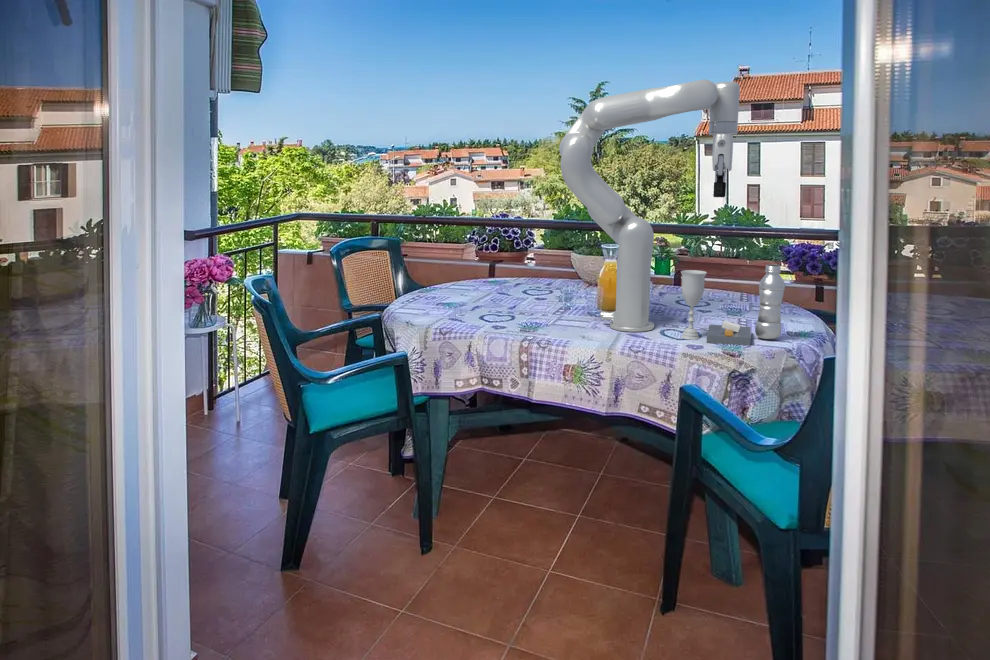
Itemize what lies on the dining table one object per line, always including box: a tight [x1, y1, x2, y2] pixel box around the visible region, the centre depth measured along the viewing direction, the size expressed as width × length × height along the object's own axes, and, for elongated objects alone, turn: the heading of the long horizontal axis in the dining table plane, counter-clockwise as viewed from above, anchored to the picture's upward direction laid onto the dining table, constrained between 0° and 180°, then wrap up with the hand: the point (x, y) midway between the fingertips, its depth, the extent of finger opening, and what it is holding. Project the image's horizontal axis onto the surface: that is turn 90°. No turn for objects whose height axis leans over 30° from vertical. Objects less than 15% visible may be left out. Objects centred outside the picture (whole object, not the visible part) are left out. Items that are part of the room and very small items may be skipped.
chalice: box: [680, 269, 708, 341], centre depth 206 cm, size 7×7×18 cm
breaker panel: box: [706, 321, 752, 346], centre depth 206 cm, size 11×14×3 cm
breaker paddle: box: [721, 319, 740, 332], centre depth 206 cm, size 4×3×1 cm
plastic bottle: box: [754, 263, 786, 340], centre depth 203 cm, size 6×7×20 cm
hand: (719, 197), depth 213 cm, fingers closed
